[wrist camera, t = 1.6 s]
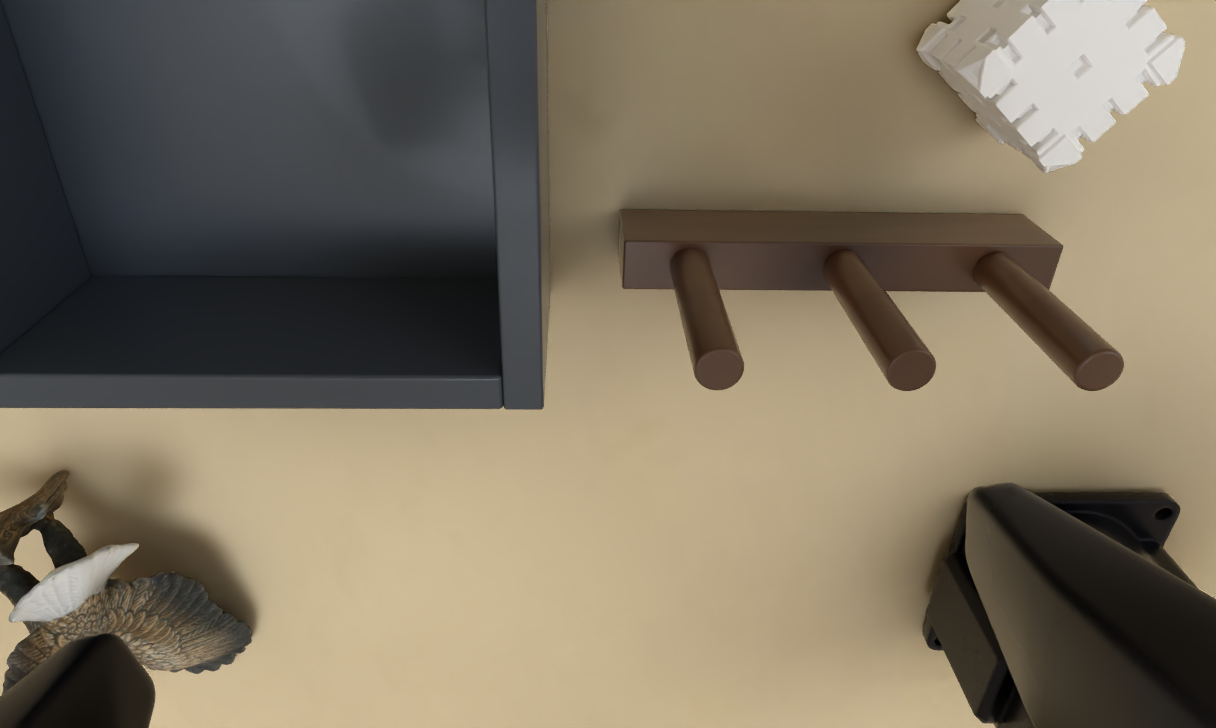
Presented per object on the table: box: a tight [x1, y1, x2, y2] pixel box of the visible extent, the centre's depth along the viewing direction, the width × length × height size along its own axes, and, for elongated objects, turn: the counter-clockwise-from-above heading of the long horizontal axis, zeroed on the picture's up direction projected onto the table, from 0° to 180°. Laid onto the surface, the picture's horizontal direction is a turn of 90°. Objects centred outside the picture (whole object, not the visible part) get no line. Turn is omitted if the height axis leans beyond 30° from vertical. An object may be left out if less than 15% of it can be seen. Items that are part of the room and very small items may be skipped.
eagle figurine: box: [0, 471, 252, 695], centre depth 23 cm, size 8×7×9 cm
